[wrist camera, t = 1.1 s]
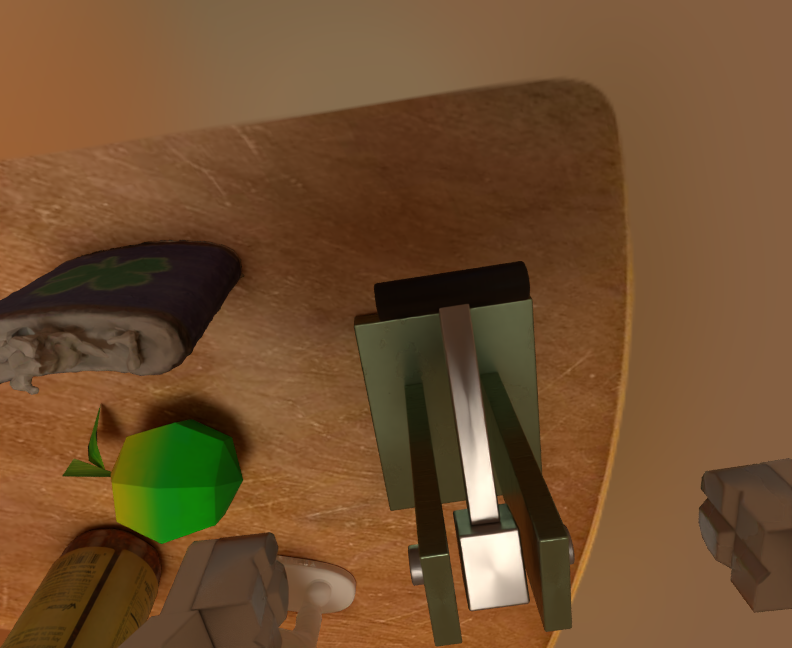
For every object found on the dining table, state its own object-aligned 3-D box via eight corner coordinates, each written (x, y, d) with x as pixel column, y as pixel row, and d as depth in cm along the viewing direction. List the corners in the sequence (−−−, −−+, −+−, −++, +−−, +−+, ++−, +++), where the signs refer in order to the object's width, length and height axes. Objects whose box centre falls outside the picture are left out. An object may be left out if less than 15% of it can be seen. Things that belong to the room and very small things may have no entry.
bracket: (354, 316, 29) (338, 474, 17) (526, 290, 28) (632, 432, 17) (389, 497, 33) (396, 719, 22) (537, 476, 33) (626, 690, 21)
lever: (375, 284, 21) (371, 283, 19) (516, 262, 21) (529, 259, 19) (421, 583, 22) (423, 618, 20) (558, 564, 22) (577, 598, 20)
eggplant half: (68, 306, 28) (-101, 423, 18) (49, 250, 27) (-142, 342, 17) (249, 290, 28) (180, 398, 18) (237, 233, 27) (157, 315, 17)
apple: (221, 541, 25) (11, 535, 24) (243, 551, 30) (74, 546, 30) (243, 390, 28) (58, 381, 27) (260, 424, 34) (107, 418, 33)
